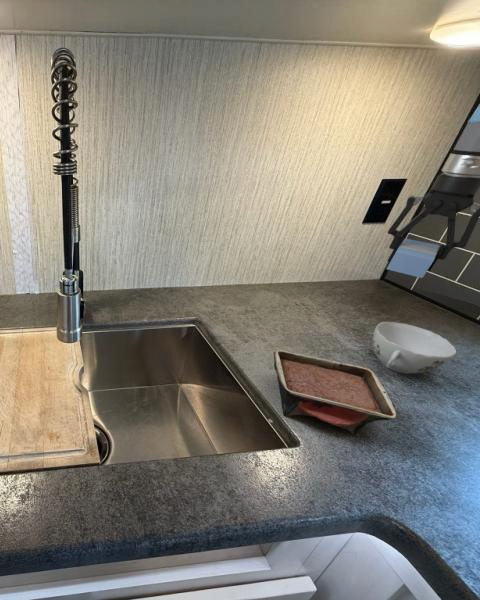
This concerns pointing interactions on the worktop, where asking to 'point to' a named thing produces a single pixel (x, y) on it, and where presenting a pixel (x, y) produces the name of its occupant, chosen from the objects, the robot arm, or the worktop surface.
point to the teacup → (410, 348)
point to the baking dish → (331, 391)
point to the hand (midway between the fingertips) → (408, 264)
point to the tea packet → (413, 257)
